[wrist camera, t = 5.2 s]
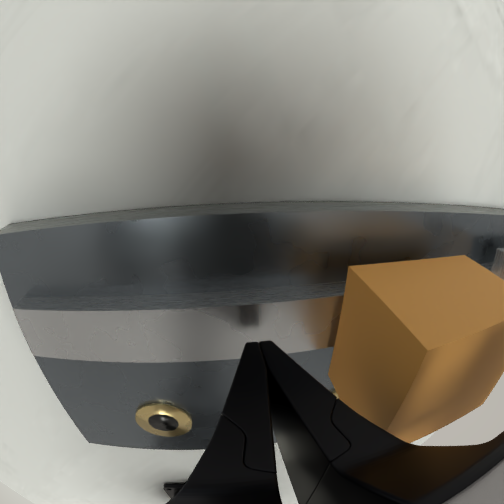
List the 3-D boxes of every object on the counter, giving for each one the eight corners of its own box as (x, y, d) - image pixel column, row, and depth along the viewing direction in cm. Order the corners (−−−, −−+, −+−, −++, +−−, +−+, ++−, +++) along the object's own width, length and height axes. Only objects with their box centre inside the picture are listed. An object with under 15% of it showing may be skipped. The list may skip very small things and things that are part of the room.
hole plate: (467, 366, 19) (509, 415, 12) (92, 425, 15) (76, 510, 8) (521, 210, 13) (592, 247, 7) (9, 224, 9) (-94, 300, 3)
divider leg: (400, 394, 14) (439, 456, 10) (308, 419, 14) (337, 498, 9) (453, 247, 11) (536, 304, 6) (338, 256, 10) (427, 350, 5)
